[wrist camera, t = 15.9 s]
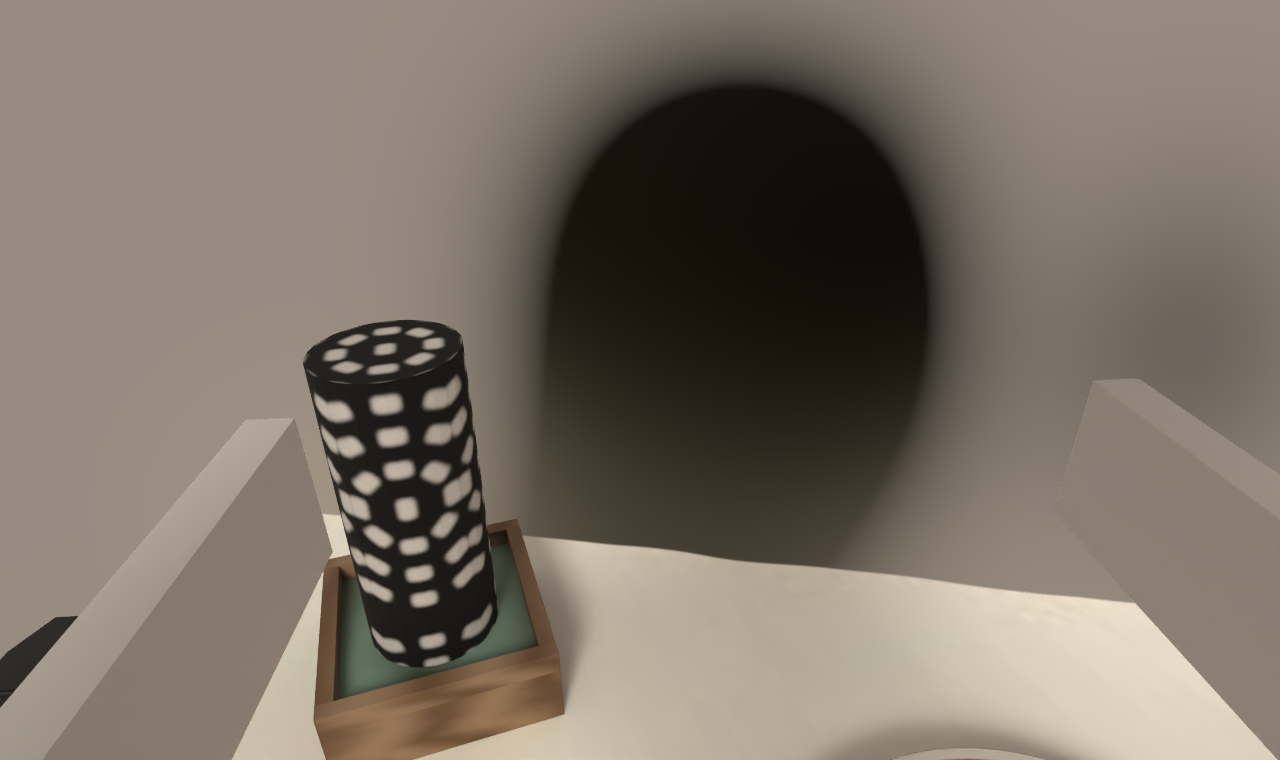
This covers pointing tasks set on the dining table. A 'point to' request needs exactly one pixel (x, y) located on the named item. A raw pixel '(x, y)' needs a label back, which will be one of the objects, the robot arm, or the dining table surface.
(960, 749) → the dinner plate
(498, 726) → the square wooden tray
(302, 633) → the dining table surface
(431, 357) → the white-spotted black cylinder
